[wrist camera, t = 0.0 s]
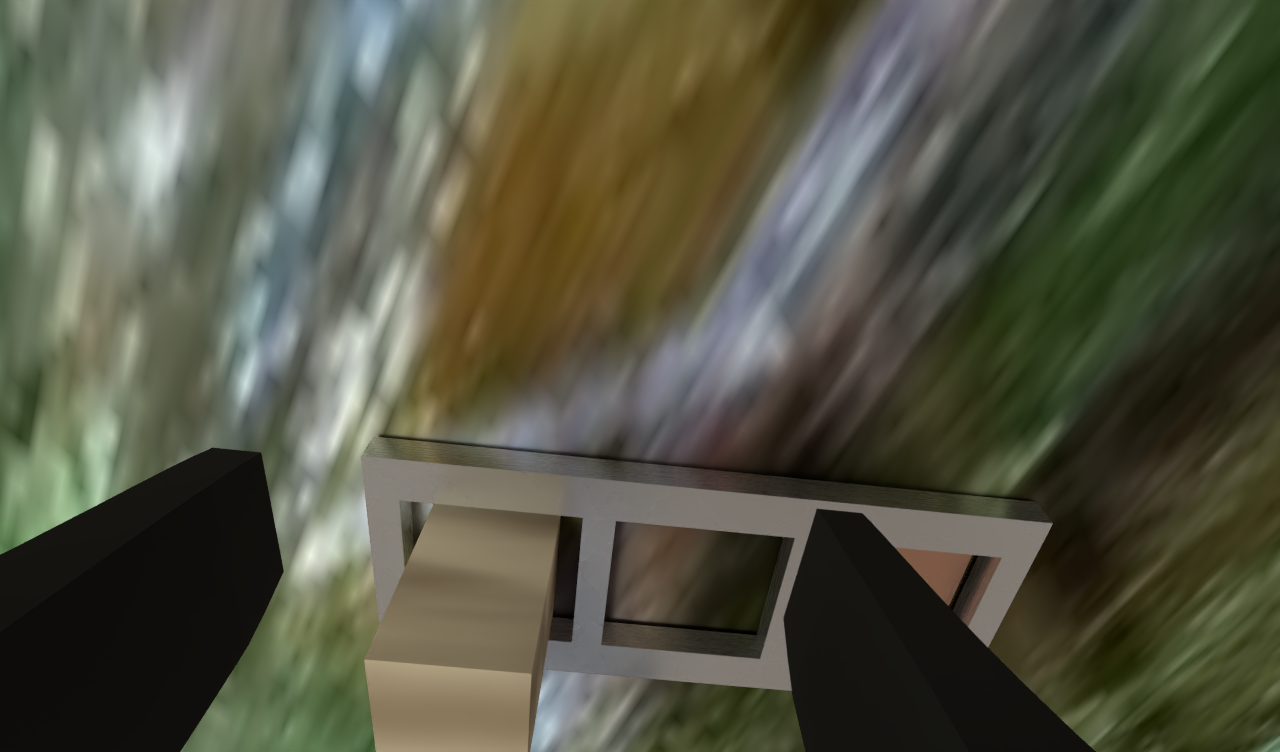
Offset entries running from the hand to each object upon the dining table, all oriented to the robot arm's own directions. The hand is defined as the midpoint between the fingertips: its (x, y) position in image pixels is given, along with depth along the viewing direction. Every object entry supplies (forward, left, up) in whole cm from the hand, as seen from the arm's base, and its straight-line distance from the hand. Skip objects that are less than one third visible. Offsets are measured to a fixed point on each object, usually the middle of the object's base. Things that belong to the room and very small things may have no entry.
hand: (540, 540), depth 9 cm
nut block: (-10, +2, -10) cm, 14 cm away
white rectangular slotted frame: (-10, -4, -10) cm, 15 cm away
